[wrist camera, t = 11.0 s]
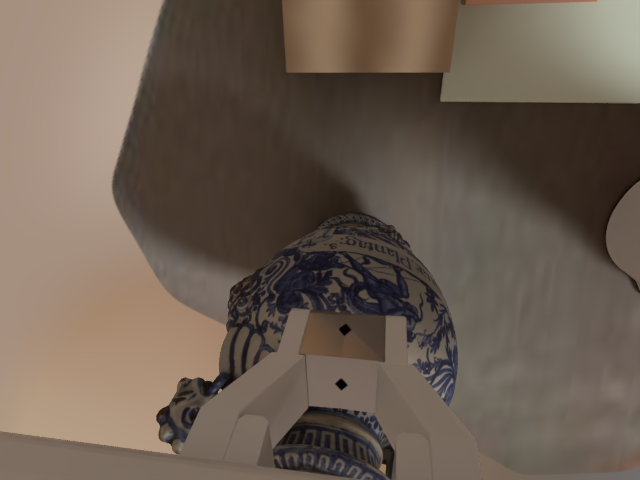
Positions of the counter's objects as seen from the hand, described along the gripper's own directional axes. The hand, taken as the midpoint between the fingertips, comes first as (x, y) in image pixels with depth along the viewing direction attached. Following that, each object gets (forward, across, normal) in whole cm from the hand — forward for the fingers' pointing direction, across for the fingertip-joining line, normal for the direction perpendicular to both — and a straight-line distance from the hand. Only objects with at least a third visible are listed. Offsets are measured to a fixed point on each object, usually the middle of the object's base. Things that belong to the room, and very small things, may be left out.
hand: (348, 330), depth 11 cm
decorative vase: (+31, -2, -18) cm, 36 cm away
